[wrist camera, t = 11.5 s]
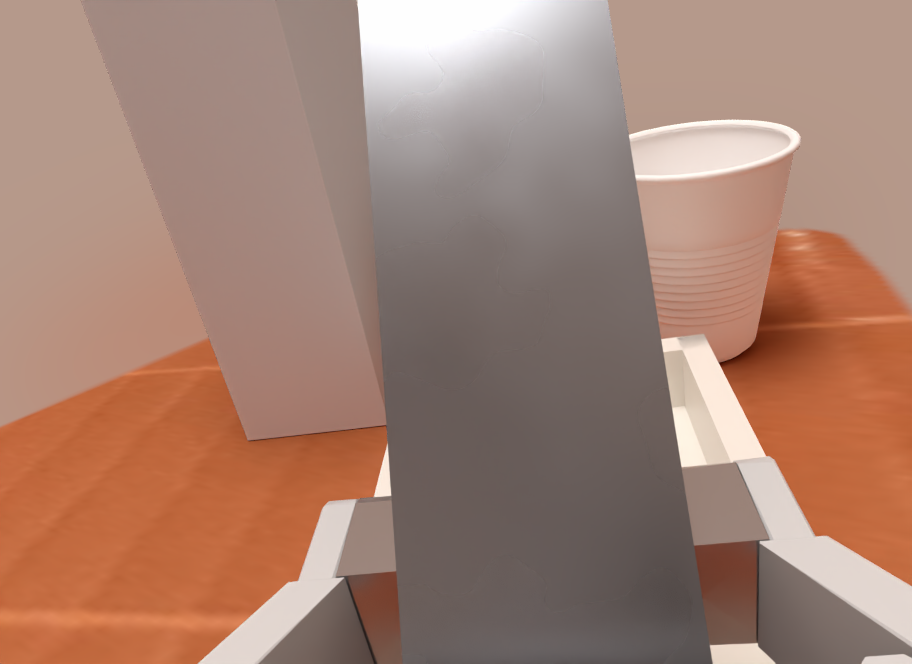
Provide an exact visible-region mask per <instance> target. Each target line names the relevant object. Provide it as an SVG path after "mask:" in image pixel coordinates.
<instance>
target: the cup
mask: <svg viewBox="0 0 912 664" xmlns="http://www.w3.org/2000/svg"><path fill="white" fill-rule="evenodd" d="M629 139H630V146H631V152H632V158H633V164H634V171H635V177H636V183H637V190H638V196H639V202H640V209H641V215H642V221H643V227H644V234H645V240H646V246H647V253H648V259H649V265H650V272H651V278H652V284H653V290H654V297H655V303H656V309H657V316H658V322H659V328H660V335H661V339H666V338H674V337H682V336H690V335H699V334H704V335H705V337H706V339H707V341H708V343H709V345H710V347H711V349H712V351H713V353H714V355H715V357H716V359H717V361H718V363H719V362H724V361H726V360H729V359H732V358H734V357H736V356H738V355H739V354H741V353H742V352H743V351H745V350H746V349H747V348H749V347H750V346H751V345H752V343H753V342H754V341H755V338H756V334H757V329H758V324H759V320H760V315H761V310H762V305H763V299H764V295H765V289H766V283H767V280H768V274H769V270H770V264H771V260H772V255H773V249H774V245H775V239H776V236H777V230H778V226H779V220H780V217H781V212H782V207H783V202H784V198H785V193H786V188H787V183H788V178H789V173H790V169H791V164H792V159H793V154H794V152H795V151H796V150H797V149H798V148H799V147H800V143H801V137H800V135H799V134H798V132H796V131H795V130H793V129H792V128H790V127H787V126H784V125H780V124H776V123H770V122H765V121H753V120H714V121H701V122H692V123H683V124H676V125H670V126H664V127H659V128H655V129H650V130H645V131H641V132H638V133H635V134H630V135H629Z"/></svg>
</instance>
